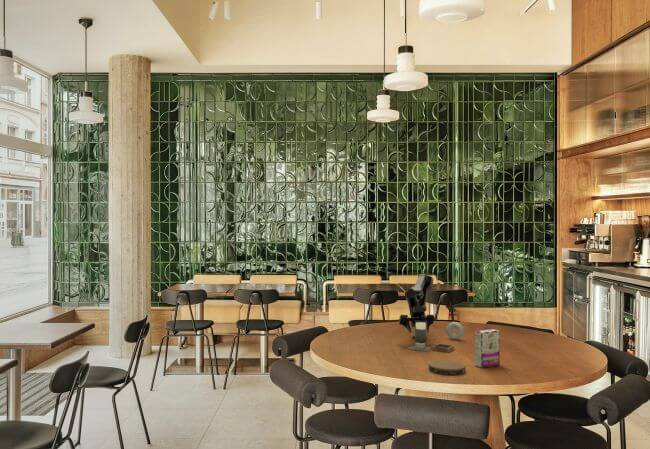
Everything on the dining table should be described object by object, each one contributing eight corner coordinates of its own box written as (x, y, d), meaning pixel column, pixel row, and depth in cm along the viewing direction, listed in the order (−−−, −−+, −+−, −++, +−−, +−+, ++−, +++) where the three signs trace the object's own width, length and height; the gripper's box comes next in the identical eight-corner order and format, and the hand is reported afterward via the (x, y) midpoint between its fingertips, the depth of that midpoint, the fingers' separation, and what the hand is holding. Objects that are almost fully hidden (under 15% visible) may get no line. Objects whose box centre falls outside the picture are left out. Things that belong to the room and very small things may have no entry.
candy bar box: (492, 363, 270) (492, 328, 270) (499, 365, 266) (500, 330, 266) (474, 365, 265) (474, 330, 265) (481, 368, 261) (482, 332, 261)
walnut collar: (437, 347, 304) (437, 343, 304) (454, 349, 299) (454, 345, 299) (431, 350, 296) (431, 346, 296) (448, 352, 292) (448, 348, 292)
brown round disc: (423, 372, 253) (423, 365, 253) (437, 365, 267) (437, 358, 267) (457, 378, 245) (457, 371, 245) (470, 370, 258) (470, 363, 258)
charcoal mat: (414, 345, 307) (414, 344, 307) (432, 348, 302) (432, 347, 302) (407, 349, 298) (407, 348, 298) (426, 351, 293) (426, 350, 293)
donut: (445, 339, 326) (445, 321, 326) (446, 338, 329) (447, 320, 329) (463, 340, 321) (463, 323, 321) (464, 339, 325) (464, 322, 325)
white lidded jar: (417, 346, 304) (417, 321, 304) (427, 347, 301) (427, 322, 301) (413, 348, 299) (413, 323, 299) (423, 349, 296) (423, 324, 296)
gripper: (400, 299, 307) (404, 324, 296) (434, 299, 309) (439, 323, 298) (396, 312, 315) (401, 336, 304) (429, 311, 317) (435, 335, 306)
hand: (419, 332), depth 303 cm, fingers open, 9 cm apart
